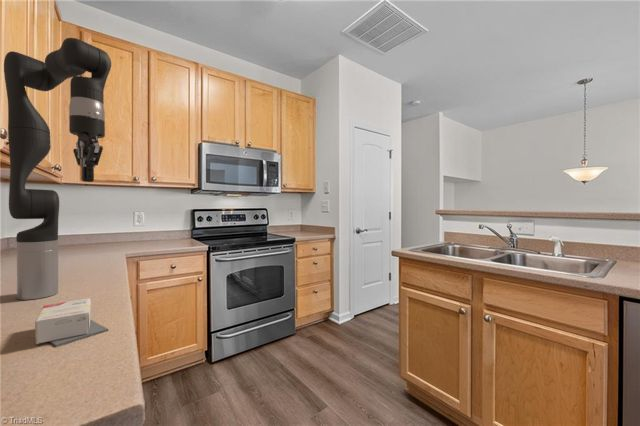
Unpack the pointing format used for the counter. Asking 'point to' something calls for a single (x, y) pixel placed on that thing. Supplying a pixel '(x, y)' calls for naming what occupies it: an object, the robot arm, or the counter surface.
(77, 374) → the counter surface
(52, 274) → the robot arm
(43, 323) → the ink box
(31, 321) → the counter surface
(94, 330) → the mat
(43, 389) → the counter surface
